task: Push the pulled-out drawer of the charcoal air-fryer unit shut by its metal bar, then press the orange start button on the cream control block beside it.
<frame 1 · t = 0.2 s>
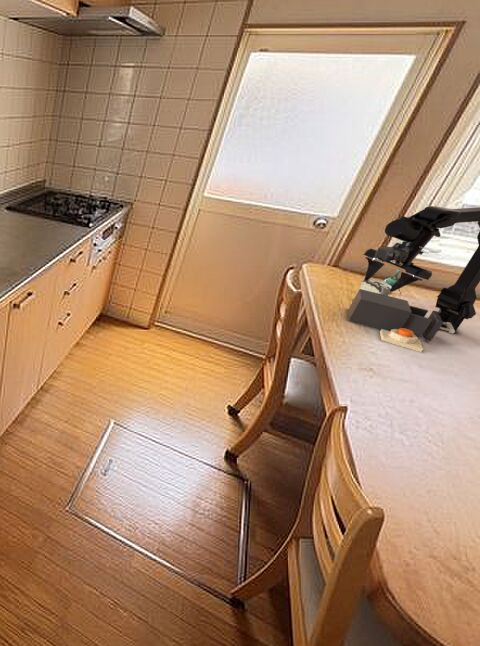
hand: (378, 285, 145), 15 cm above the table, tool pointing down, fingers open, 9 cm apart
air fryer: (371, 321, 154), on the table
start button: (405, 332, 140), point 3 cm above the table, slide at 0.1 cm
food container: (368, 307, 166), on the table
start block: (399, 341, 142), on the table
frog figurine: (379, 300, 173), on the table
fryer drawer: (418, 321, 146), point 5 cm above the table, slide at 7.0 cm
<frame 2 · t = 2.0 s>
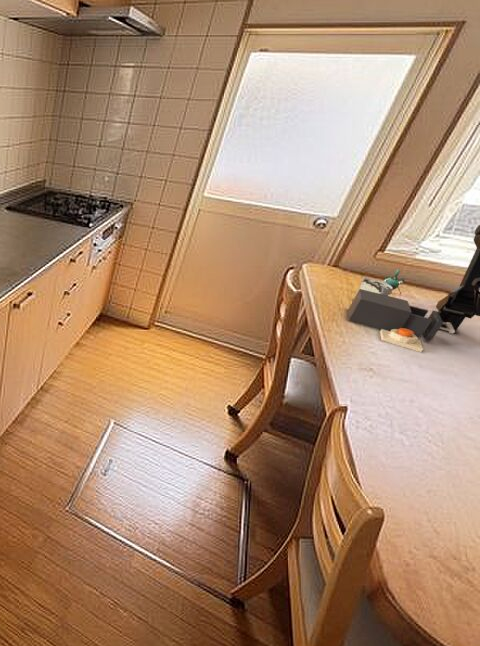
hand: (476, 314, 137), 12 cm above the table, tool pointing down, fingers closed
nothing on the table moved.
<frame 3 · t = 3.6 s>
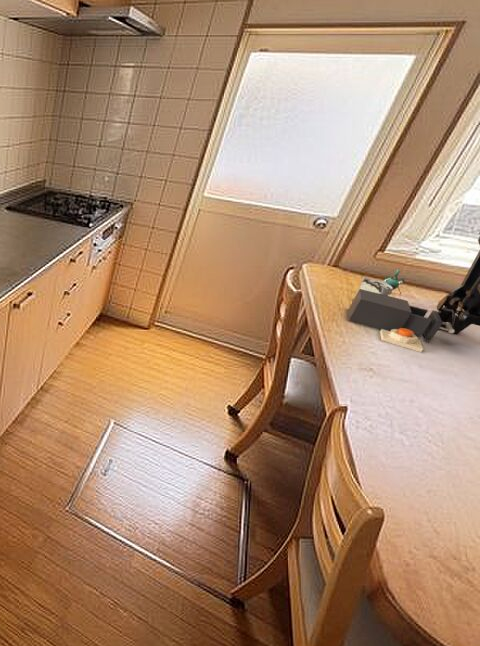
hand: (454, 333, 142), 4 cm above the table, tool pointing down, fingers closed
fryer drawer: (417, 321, 146), point 5 cm above the table, slide at 6.9 cm, touching gripper
everything else where it was.
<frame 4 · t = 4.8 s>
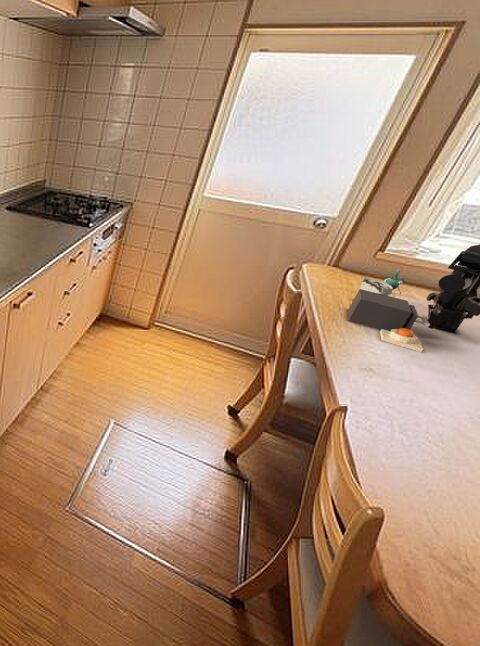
hand: (430, 328, 145), 4 cm above the table, tool pointing down, fingers closed, pressing on fryer drawer
fryer drawer: (395, 315, 150), point 5 cm above the table, slide at 0.9 cm, touching gripper
everything else where it was.
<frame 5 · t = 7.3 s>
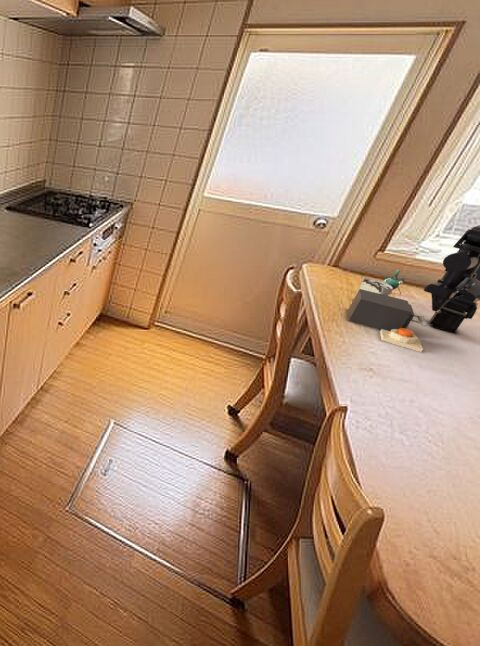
hand: (434, 310, 139), 11 cm above the table, tool pointing down, fingers closed
fryer drawer: (391, 314, 150), point 5 cm above the table, slide at 0.0 cm
everything else where it was.
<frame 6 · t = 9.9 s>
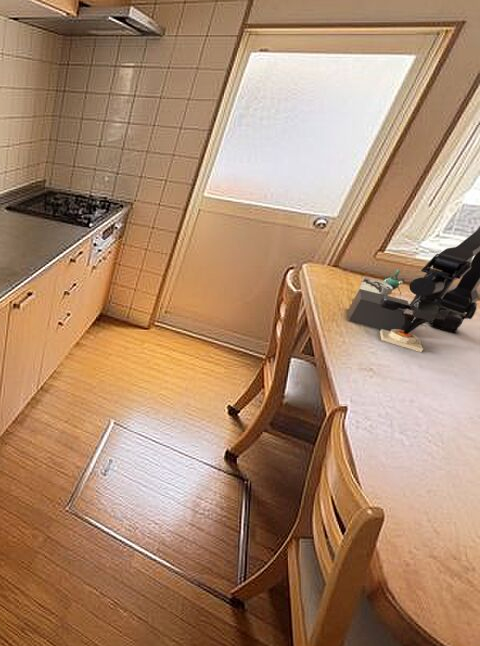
hand: (405, 333, 140), 3 cm above the table, tool pointing down, fingers closed, pressing on start button
start button: (403, 335, 141), point 3 cm above the table, slide at -0.9 cm, touching gripper
everything else where it was.
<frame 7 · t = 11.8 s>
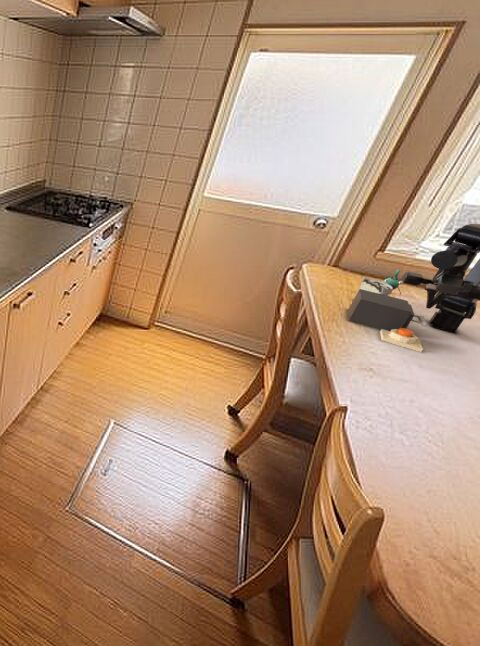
hand: (427, 308, 141), 11 cm above the table, tool pointing down, fingers closed
start button: (405, 332, 140), point 3 cm above the table, slide at 0.1 cm
everything else where it was.
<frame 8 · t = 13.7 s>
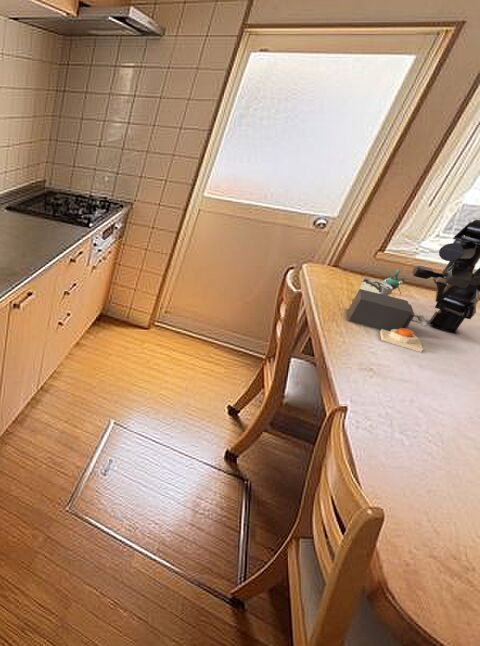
hand: (437, 301, 145), 12 cm above the table, tool pointing down, fingers closed
nothing on the table moved.
at the end: fryer drawer slide at 0.0 cm; start button pushed in 1.1 cm at the most during the clip, back to where it started at the end; start button slide at 0.1 cm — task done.
